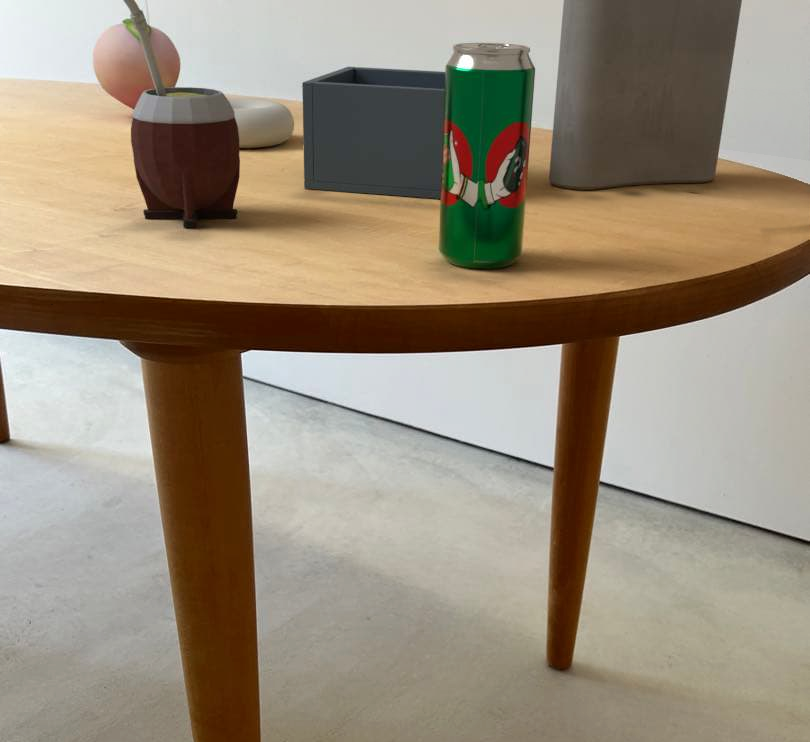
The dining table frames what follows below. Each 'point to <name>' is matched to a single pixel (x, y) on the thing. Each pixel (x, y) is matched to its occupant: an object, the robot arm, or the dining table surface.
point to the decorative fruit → (133, 62)
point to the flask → (641, 91)
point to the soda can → (485, 154)
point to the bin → (374, 131)
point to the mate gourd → (183, 146)
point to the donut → (261, 122)
